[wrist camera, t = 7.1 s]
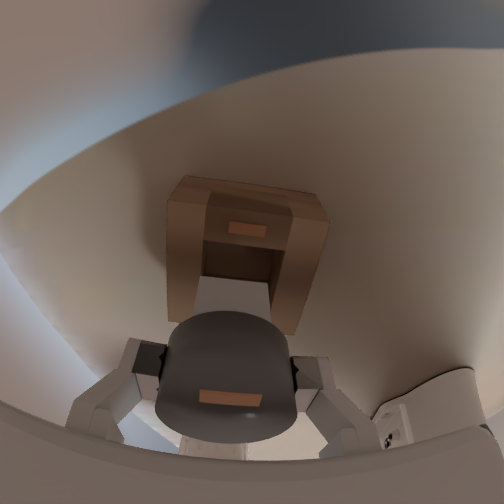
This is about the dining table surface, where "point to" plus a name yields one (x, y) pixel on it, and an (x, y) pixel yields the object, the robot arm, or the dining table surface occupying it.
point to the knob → (227, 368)
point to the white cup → (212, 449)
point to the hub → (243, 243)
